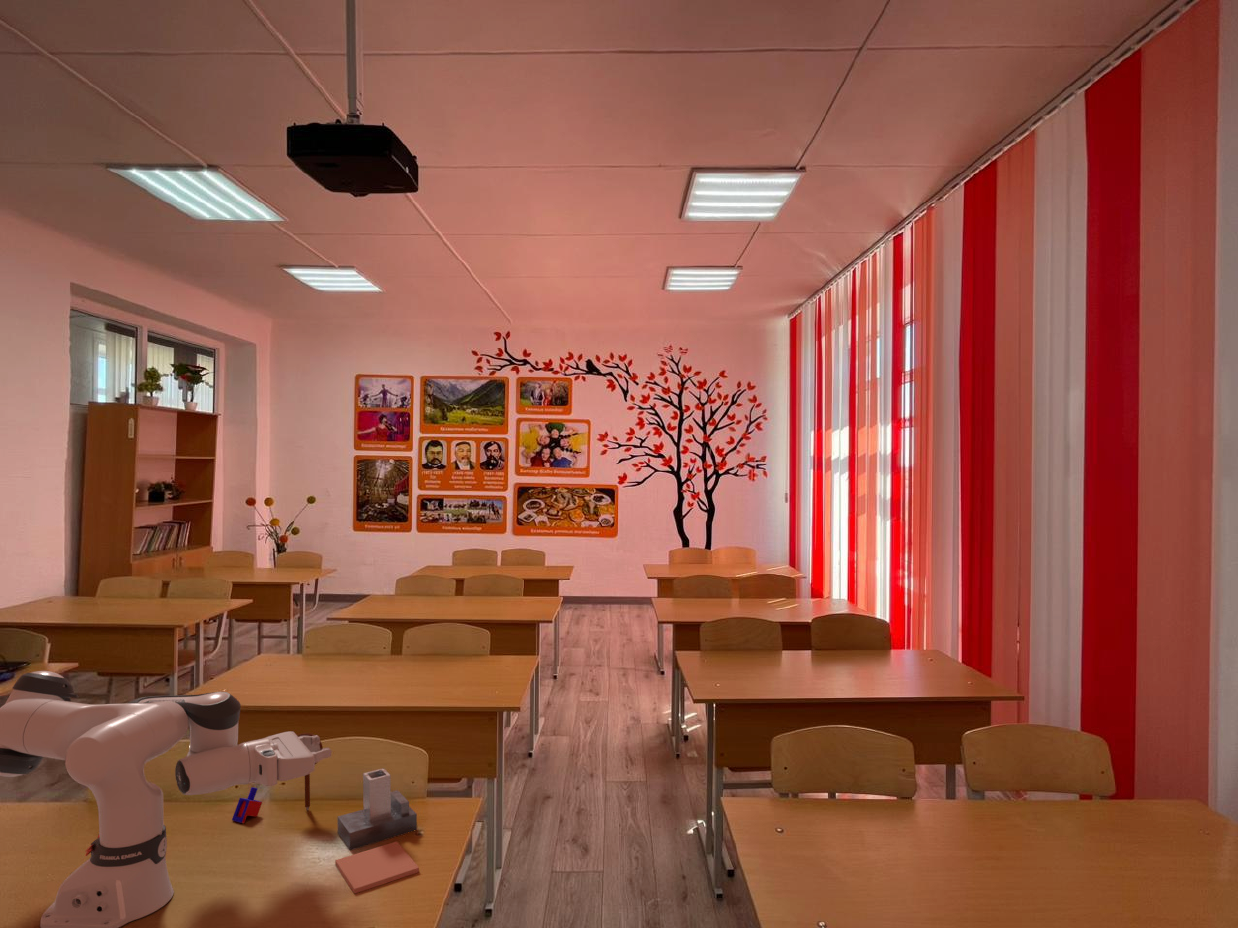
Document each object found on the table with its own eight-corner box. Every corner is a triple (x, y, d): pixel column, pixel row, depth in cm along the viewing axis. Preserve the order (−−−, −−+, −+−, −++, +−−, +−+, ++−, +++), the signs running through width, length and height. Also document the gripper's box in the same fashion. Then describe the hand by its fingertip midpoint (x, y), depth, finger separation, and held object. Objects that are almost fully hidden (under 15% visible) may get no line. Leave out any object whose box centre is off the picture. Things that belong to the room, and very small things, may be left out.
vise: (350, 850, 177) (349, 794, 177) (337, 832, 185) (337, 779, 185) (416, 829, 186) (416, 776, 186) (402, 814, 194) (401, 763, 194)
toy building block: (254, 823, 193) (266, 790, 196) (241, 822, 190) (253, 788, 193) (244, 821, 195) (256, 787, 198) (231, 819, 191) (244, 785, 194)
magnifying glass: (290, 810, 197) (289, 733, 197) (294, 807, 198) (293, 730, 198) (321, 812, 195) (320, 734, 195) (324, 809, 197) (324, 732, 197)
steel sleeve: (370, 821, 182) (369, 780, 182) (363, 814, 186) (363, 773, 186) (390, 816, 185) (390, 775, 185) (383, 808, 189) (383, 768, 189)
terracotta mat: (354, 893, 159) (354, 888, 159) (335, 864, 171) (335, 859, 171) (419, 871, 167) (419, 867, 167) (396, 845, 179) (396, 841, 179)
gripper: (251, 758, 179) (313, 745, 187) (270, 789, 162) (337, 773, 171) (251, 731, 179) (312, 719, 187) (270, 760, 162) (337, 745, 170)
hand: (324, 745), depth 179 cm, fingers open, 8 cm apart
